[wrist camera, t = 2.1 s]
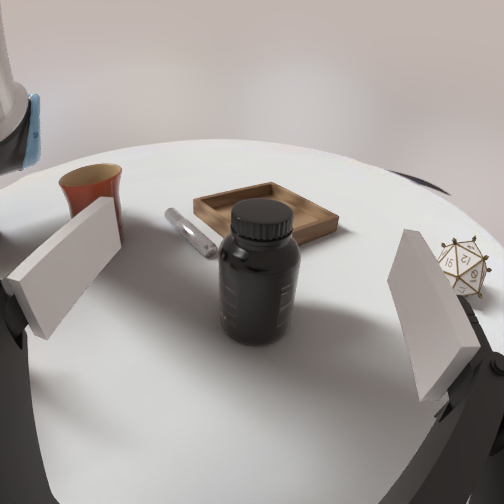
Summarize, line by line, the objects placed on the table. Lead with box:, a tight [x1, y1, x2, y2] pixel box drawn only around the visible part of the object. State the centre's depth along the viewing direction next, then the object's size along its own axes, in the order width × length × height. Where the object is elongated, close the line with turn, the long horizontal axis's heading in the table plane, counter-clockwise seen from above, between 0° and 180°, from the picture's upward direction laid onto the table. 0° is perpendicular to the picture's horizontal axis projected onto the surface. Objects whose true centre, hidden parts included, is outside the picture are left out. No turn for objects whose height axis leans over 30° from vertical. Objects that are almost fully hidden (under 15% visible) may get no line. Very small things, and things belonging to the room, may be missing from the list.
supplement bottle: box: [218, 198, 301, 345], centre depth 27 cm, size 7×7×12 cm
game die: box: [438, 235, 492, 298], centre depth 32 cm, size 9×8×10 cm
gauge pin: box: [165, 208, 216, 257], centre depth 42 cm, size 12×2×2 cm, turn 37°
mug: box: [59, 164, 124, 242], centre depth 39 cm, size 12×9×10 cm
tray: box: [193, 182, 339, 246], centre depth 47 cm, size 16×16×2 cm
